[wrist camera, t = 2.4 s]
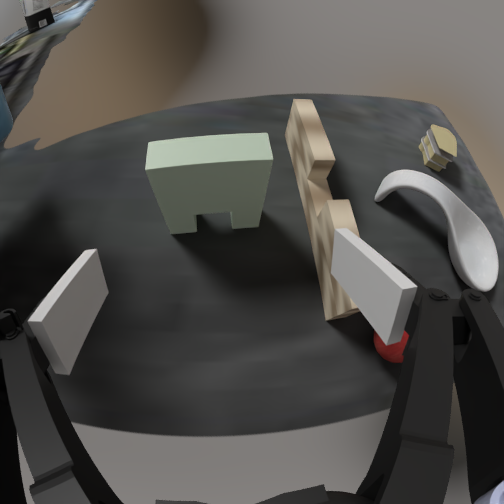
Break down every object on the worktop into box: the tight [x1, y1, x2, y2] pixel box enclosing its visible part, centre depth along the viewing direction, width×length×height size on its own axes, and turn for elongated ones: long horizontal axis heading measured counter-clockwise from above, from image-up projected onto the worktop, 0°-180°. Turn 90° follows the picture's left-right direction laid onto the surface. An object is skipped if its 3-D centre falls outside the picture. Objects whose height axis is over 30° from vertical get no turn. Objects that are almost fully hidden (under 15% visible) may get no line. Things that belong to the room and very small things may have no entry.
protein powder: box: [19, 0, 54, 32], centre depth 49 cm, size 10×24×30 cm, turn 70°
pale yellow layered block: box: [419, 125, 457, 172], centre depth 38 cm, size 10×9×6 cm
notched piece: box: [145, 133, 273, 234], centre depth 27 cm, size 10×3×12 cm, turn 97°
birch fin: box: [285, 99, 360, 321], centre depth 31 cm, size 26×2×7 cm, turn 7°
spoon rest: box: [375, 170, 498, 292], centre depth 31 cm, size 24×12×7 cm, turn 57°
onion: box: [374, 330, 409, 363], centre depth 25 cm, size 6×6×8 cm
